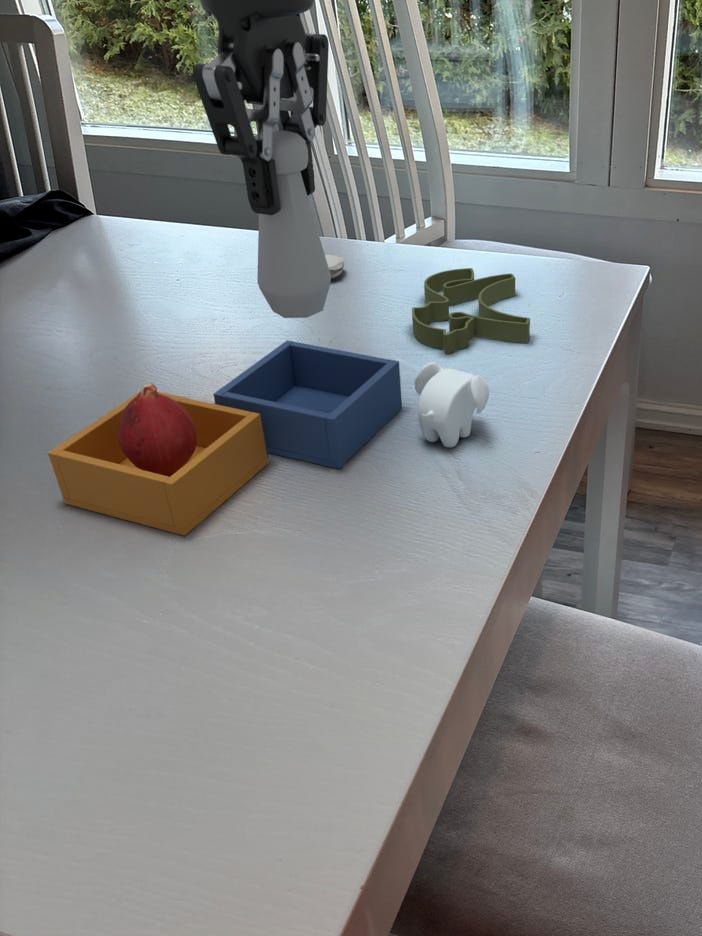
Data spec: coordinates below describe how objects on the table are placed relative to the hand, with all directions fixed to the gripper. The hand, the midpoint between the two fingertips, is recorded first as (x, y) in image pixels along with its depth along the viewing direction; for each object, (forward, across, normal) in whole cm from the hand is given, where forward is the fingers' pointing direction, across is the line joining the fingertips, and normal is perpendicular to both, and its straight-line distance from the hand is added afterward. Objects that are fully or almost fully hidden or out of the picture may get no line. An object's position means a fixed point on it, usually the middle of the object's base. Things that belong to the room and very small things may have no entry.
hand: (284, 201), depth 73 cm
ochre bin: (+19, +13, -6) cm, 24 cm away
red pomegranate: (+18, +13, -6) cm, 23 cm away
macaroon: (+19, -32, -17) cm, 41 cm away
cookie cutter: (+19, -27, +3) cm, 33 cm away
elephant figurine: (+19, -3, +12) cm, 23 cm away
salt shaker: (+8, 0, 0) cm, 8 cm away
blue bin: (+19, 0, 0) cm, 19 cm away
